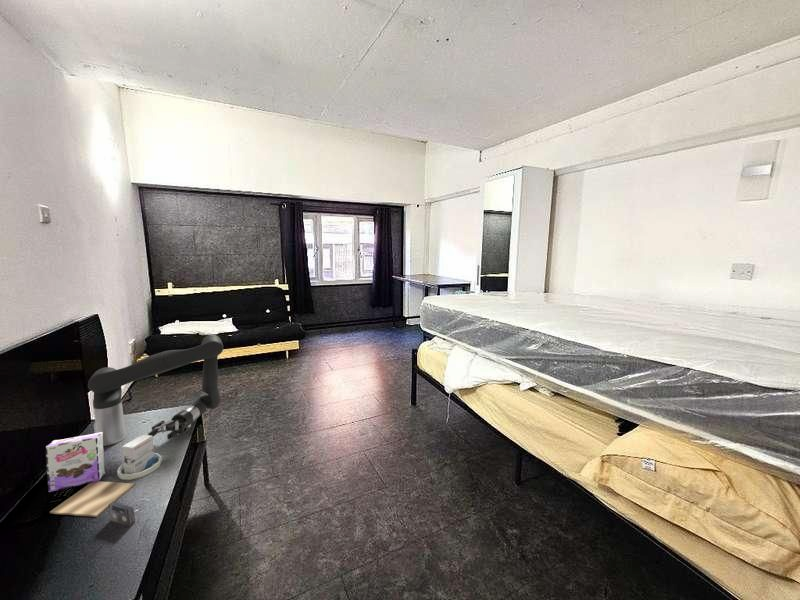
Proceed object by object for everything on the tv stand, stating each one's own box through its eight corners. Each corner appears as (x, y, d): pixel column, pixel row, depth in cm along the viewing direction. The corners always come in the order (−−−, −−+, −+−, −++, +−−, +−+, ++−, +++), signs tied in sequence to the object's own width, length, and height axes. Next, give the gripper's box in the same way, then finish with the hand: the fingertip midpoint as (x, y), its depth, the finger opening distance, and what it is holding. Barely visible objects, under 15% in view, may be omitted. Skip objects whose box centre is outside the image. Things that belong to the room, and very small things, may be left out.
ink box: (145, 459, 129) (143, 433, 128) (156, 461, 128) (153, 435, 127) (124, 474, 121) (120, 446, 119) (134, 476, 120) (131, 448, 118)
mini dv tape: (135, 522, 100) (133, 506, 99) (130, 526, 99) (128, 509, 98) (115, 517, 102) (113, 500, 101) (110, 520, 100) (108, 504, 100)
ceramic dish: (108, 478, 119) (108, 474, 118) (139, 456, 132) (138, 452, 131) (141, 480, 118) (141, 476, 118) (169, 457, 131) (169, 453, 131)
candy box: (47, 493, 110) (44, 446, 109) (56, 484, 115) (53, 439, 115) (99, 480, 116) (96, 437, 116) (105, 472, 121) (102, 430, 121)
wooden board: (49, 513, 103) (49, 511, 102) (93, 482, 116) (93, 480, 116) (96, 516, 102) (96, 515, 102) (134, 485, 116) (134, 483, 115)
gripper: (171, 408, 149) (141, 427, 133) (200, 410, 148) (173, 429, 132) (172, 423, 150) (143, 444, 134) (201, 425, 149) (175, 445, 133)
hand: (158, 436), depth 133 cm, fingers open, 8 cm apart
